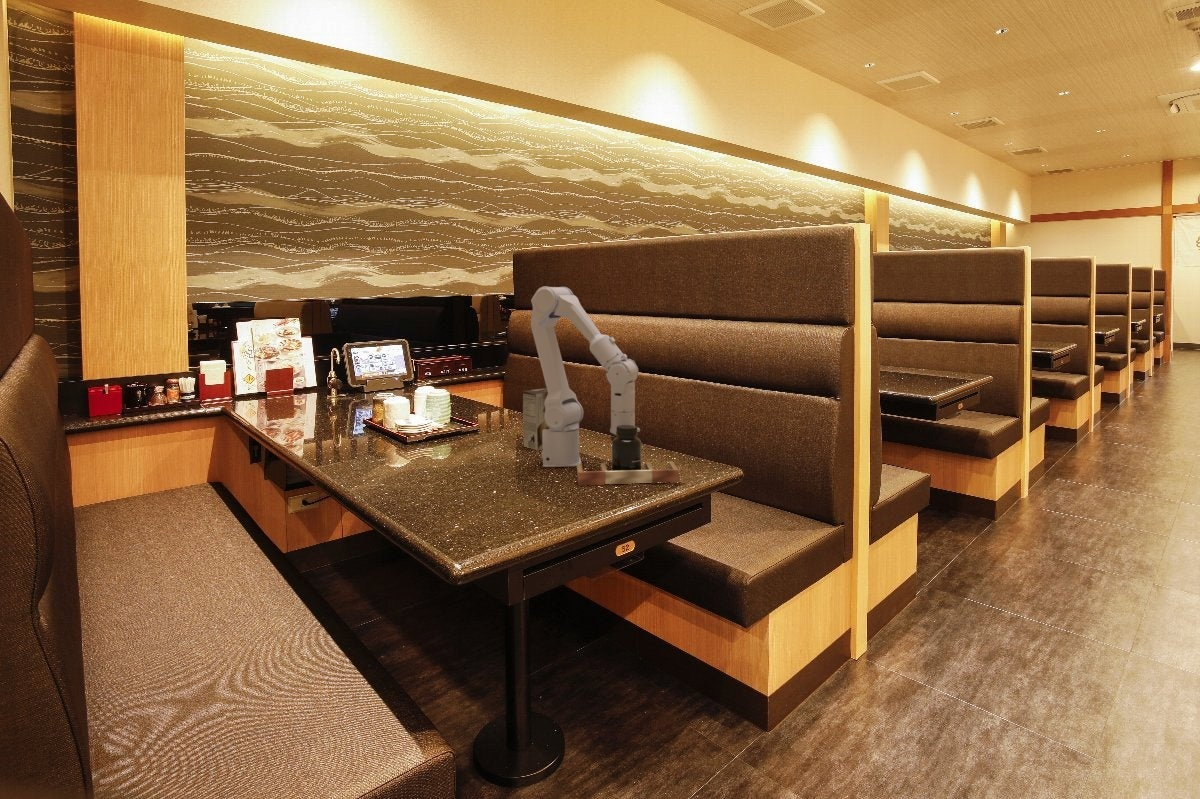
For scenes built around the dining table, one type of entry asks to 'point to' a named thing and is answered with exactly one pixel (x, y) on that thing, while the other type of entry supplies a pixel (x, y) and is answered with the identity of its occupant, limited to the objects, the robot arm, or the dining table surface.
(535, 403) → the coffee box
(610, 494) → the dining table surface
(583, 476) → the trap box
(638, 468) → the supplement bottle
